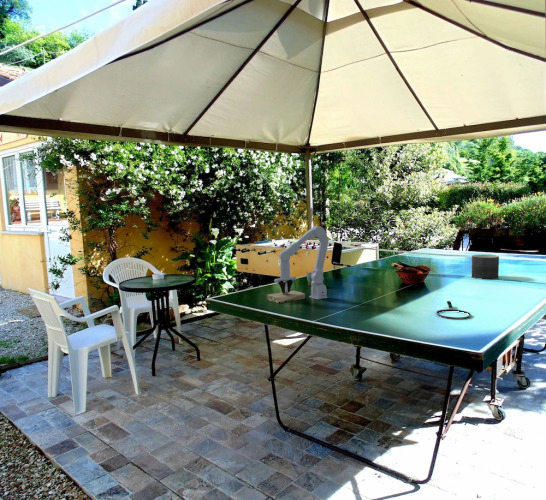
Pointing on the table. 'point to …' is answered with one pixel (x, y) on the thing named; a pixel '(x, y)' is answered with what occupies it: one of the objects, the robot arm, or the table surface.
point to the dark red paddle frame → (451, 310)
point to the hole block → (285, 296)
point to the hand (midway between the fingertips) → (285, 292)
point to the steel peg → (286, 288)
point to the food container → (309, 278)
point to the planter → (485, 266)
